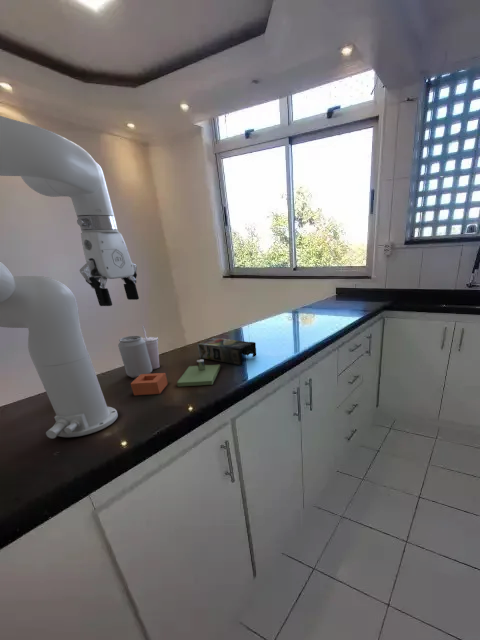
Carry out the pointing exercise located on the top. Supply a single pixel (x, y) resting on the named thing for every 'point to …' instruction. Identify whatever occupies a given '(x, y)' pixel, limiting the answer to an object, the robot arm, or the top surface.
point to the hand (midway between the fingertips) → (120, 302)
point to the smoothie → (152, 349)
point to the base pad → (199, 374)
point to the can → (135, 356)
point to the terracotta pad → (149, 384)
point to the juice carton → (226, 350)
